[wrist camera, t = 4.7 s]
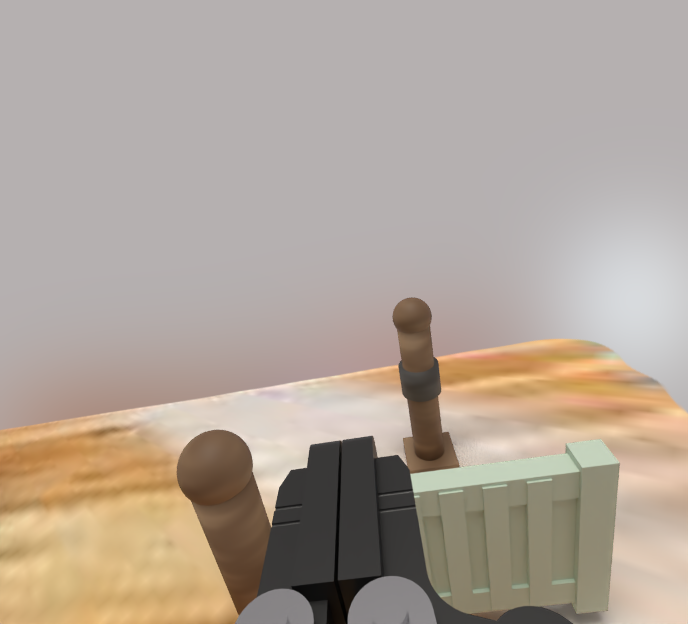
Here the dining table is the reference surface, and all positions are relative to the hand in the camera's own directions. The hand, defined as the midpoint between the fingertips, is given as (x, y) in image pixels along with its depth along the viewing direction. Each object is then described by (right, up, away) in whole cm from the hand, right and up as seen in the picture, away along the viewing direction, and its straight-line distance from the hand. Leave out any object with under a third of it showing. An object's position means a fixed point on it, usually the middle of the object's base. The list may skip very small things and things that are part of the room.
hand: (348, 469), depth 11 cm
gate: (+6, -13, +14) cm, 20 cm away
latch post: (+7, -9, +27) cm, 29 cm away
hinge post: (-4, -16, +15) cm, 22 cm away
